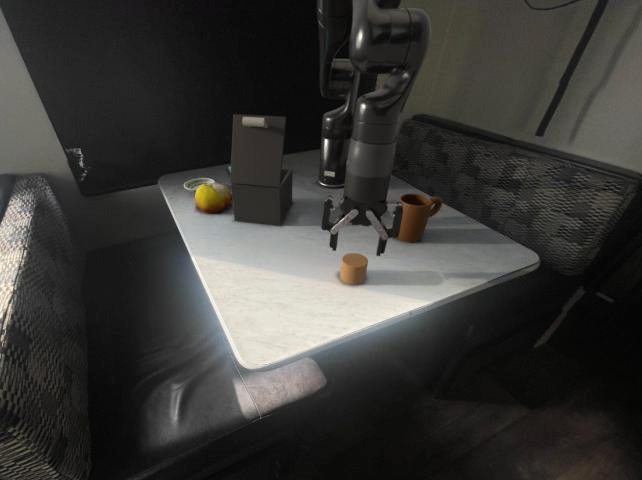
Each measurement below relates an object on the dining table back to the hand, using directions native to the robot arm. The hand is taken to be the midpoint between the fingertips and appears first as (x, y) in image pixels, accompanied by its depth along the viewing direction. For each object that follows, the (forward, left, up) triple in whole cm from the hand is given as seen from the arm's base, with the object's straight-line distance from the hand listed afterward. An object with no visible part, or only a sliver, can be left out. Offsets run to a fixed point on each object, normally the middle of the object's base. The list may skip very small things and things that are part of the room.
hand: (356, 251), depth 66 cm
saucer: (+13, -60, -7) cm, 62 cm away
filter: (0, 0, -6) cm, 6 cm away
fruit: (+13, -47, -7) cm, 49 cm away
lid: (+4, -34, +11) cm, 36 cm away
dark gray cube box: (+2, -37, -6) cm, 38 cm away
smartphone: (-4, -66, -7) cm, 66 cm away
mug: (-25, -7, -7) cm, 27 cm away
